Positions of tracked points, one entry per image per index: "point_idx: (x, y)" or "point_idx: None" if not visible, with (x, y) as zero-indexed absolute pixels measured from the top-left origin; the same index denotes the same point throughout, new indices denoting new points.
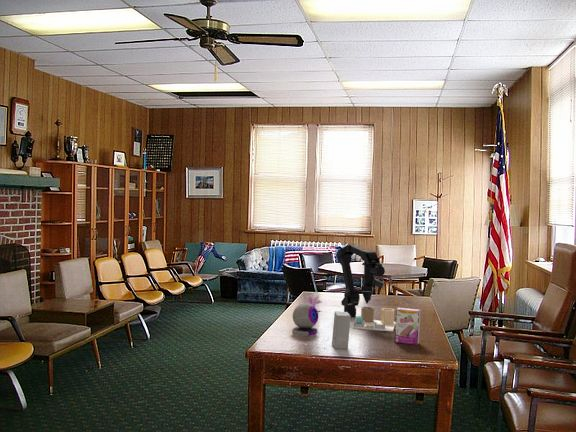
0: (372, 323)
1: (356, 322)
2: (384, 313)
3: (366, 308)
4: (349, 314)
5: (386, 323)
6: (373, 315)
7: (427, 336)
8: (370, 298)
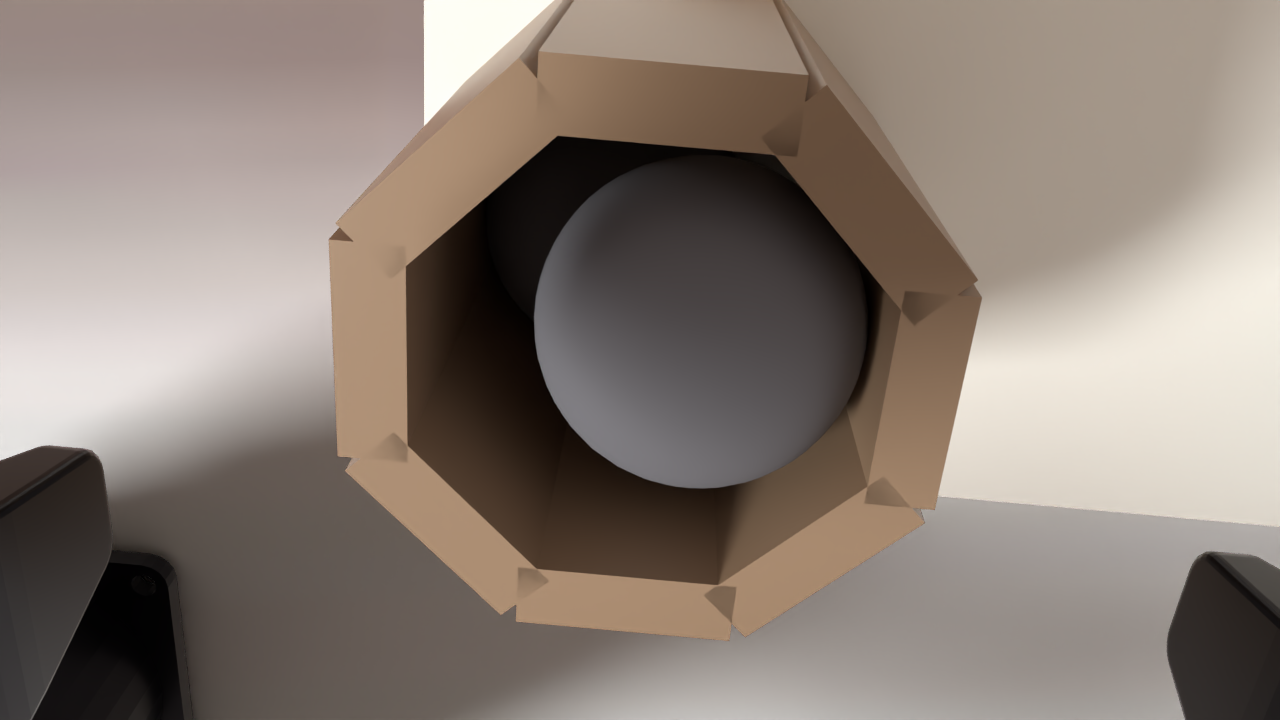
0: (1019, 3)
1: (961, 486)
2: None
3: (801, 436)
4: (138, 705)
5: None
6: (781, 19)
7: None
8: (6, 518)
